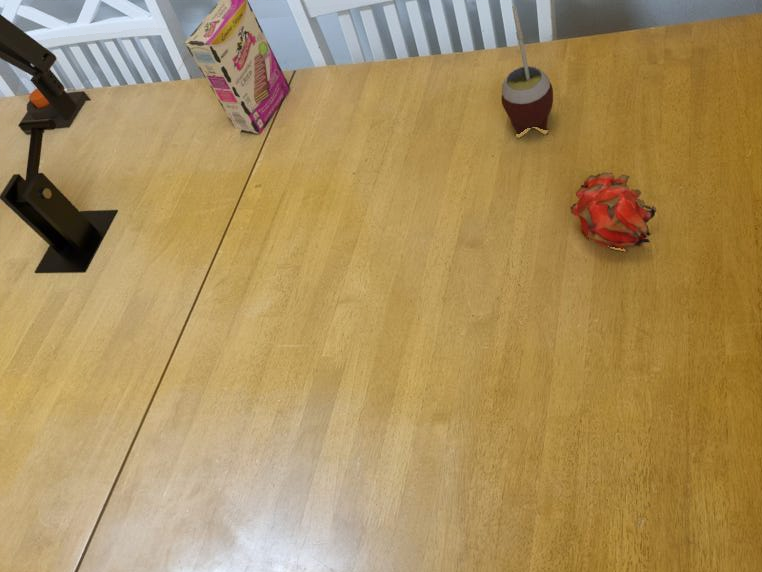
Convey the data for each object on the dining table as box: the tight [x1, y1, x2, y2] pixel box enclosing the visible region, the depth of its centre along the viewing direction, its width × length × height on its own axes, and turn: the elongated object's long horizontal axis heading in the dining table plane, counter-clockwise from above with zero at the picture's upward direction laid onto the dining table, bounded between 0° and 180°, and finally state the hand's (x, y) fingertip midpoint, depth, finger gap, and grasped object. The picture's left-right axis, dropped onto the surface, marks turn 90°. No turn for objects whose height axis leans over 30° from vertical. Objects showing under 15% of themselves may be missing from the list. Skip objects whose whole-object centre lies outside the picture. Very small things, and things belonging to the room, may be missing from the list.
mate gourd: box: [501, 5, 554, 134], centre depth 99 cm, size 8×8×15 cm
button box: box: [17, 90, 92, 136], centre depth 130 cm, size 10×8×4 cm
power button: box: [28, 88, 50, 108], centre depth 128 cm, size 4×4×2 cm
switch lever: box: [16, 119, 56, 207], centre depth 103 cm, size 12×5×2 cm, turn 171°
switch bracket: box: [0, 172, 119, 274], centre depth 106 cm, size 12×9×13 cm
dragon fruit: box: [570, 172, 657, 249], centre depth 88 cm, size 8×8×12 cm
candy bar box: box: [184, 0, 291, 135], centre depth 113 cm, size 11×5×16 cm, turn 160°
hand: (31, 117), depth 102 cm, fingers open, 13 cm apart
